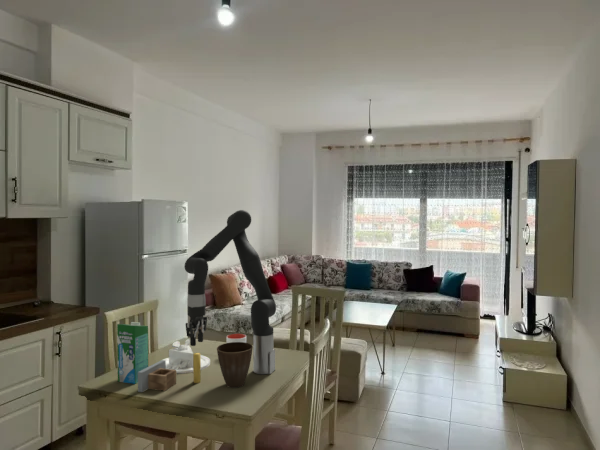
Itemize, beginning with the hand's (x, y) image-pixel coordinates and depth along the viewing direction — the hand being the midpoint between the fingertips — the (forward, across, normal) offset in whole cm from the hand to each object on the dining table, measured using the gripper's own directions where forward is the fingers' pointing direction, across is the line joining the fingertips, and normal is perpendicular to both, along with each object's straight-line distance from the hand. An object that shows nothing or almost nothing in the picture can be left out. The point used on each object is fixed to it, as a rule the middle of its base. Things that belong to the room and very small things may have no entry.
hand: (196, 343), depth 193 cm
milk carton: (+17, +6, -28) cm, 33 cm away
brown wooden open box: (+16, +9, -11) cm, 22 cm away
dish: (+17, -18, -18) cm, 31 cm away
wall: (+16, +9, -16) cm, 25 cm away
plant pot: (+17, -2, +17) cm, 24 cm away
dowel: (+16, 0, 0) cm, 16 cm away
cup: (+17, -38, 0) cm, 42 cm away
